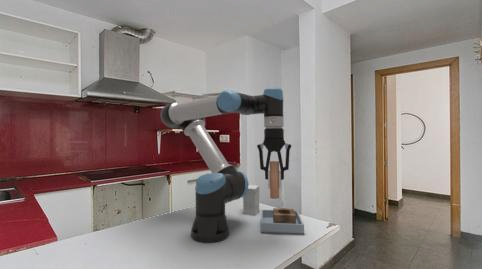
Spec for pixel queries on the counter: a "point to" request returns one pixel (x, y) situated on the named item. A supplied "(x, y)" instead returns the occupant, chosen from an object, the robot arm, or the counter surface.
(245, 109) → the robot arm
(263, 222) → the tray
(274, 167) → the peg
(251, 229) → the counter surface
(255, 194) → the small box
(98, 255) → the counter surface
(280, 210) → the block
